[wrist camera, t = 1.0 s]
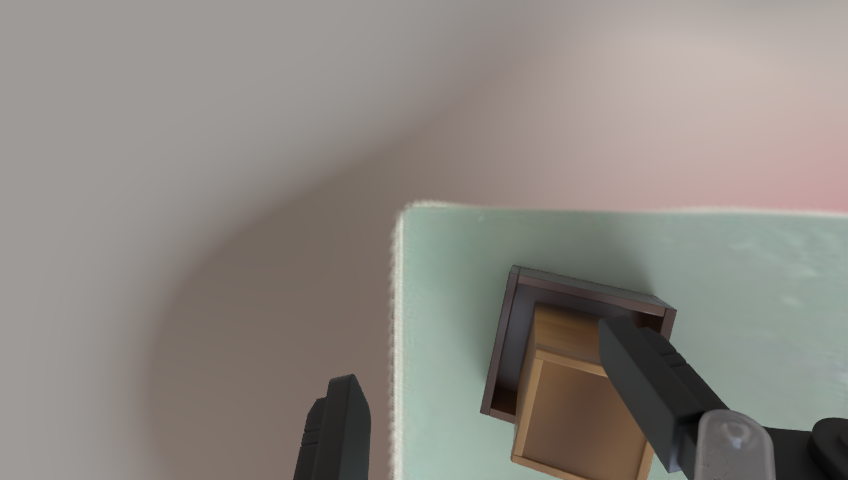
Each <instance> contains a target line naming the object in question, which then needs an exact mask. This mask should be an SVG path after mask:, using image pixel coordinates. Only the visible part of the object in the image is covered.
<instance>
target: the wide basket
mask: <svg viewBox="0 0 848 480" xmlns="http://www.w3.org/2000/svg"><path fill="white" fill-rule="evenodd" d="M535 301H539V302H544V303H548V304H552V305H556V306H560V307H565V308H569V309H573V310H577V311H581V312H586V313H590V314H594V315H598V316H602V317H607V318H608V317H612V316H617V315H621V314H625V315H626V316H628V317H629V319H630V320H631V321H632V322H633V323H634V325H635V326H636V327H637V328H638V329H639V328H643V327H649V328H650V329H652V330H654V331H656V332H657V333H659V334H661V335H662V336H664V337H665V338H666V339H667V340H668V341H669V339H670V335H671V331H672V328H673V324H674V320H675V316H676V312H677V310H676V309H675V308H673V307H671V306H670V305H668V304H667V303H665V302H664V301H662V300H661V299H659V298H658V297H656V296H652V295H647V294H643V293H638V292H634V291H629V290H624V289H620V288H615V287H611V286H606V285H602V284H597V283H592V282H588V281H583V280H579V279H574V278H570V277H565V276H560V275H556V274H551V273H547V272H542V271H538V270H533V269H529V268H524V267H519V266H515V265H513V266H512V268H511V271H510V273H509V277H508V282H507V287H506V291H505V296H504V301H503V306H502V310H501V315H500V320H499V325H498V329H497V334H496V339H495V343H494V348H493V353H492V358H491V362H490V367H489V372H488V377H487V381H486V386H485V391H484V395H483V400H482V405H481V410H480V413H482V414H485V415H489V416H491V417H494V418H497V419H501V420H504V421H507V422H510V423H513V424H515V416H516V406H517V395H518V384H519V373H520V368H521V364H522V359H523V355H524V350H525V346H526V341H527V337H528V332H529V328H530V323H531V319H532V314H533V309H534V305H535Z"/></svg>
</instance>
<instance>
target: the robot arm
mask: <svg viewBox="0 0 848 480" xmlns="http://www.w3.org/2000/svg"><path fill="white" fill-rule="evenodd" d="M598 328H599V356H600V361H601V364H602V366H603V369H604V371H605V373H606V375H607V376H608V378H609V379H610V381H611V383H612V384H613V386H614V387H615V389H616V391H617V392H618V394H619V395H620V397H621V399H622V400H623V402H624V403H625V405H626V407H627V408H628V410H629V411H630V413H631V415H632V416H633V418H634V419H635V421H636V423H637V424H638V426H639V427H640V429H641V431H642V432H643V434H644V435H645V437H646V439H647V440H648V442H649V443H650V445H651V447H652V448H653V450H654V451H655V453H656V455H657V456H658V458H659V459H660V461H661V463H662V464H663V466H664V467H665V469H666V471H667V472H668V473H672V472H676V471H681V470H682V471H683V473H684V474H685V476H686V477H687V479H688V480H848V419H843V418H826V419H822V420H820V421H818V422H817V423H816V424H815V425H814V427H813V429H812V432H811V431H799V430H787V429H776V428H768V427H764V426H761V425H760V424H759V423H757V422H756V421H755V420H753V419H752V418H750V417H748V416H746V415H744V414H742V413H739V412H736V411H732V410H730V409H729V408H728V407H727V406H726V405H725V404H724V403H723V402H722V401H721V399H720V398H719V397H718V396H717V395H716V394H715V393H714V392H713V391H712V389H711V388H710V387H709V386H708V385H707V384H706V383H705V382H704V380H703V379H702V378H701V377H700V376H699V375H698V374H697V373H696V372H695V370H694V369H693V368H692V367H691V366H690V365H689V364H687V363H686V360H685V359H684V358H683V357H682V356H681V355H680V354H679V353H677V351H676V349H675V348H674V347H673V346H672V345H671V344H670V342H669V341H668V340H667V339H666V338H665V337H664V336H662V335H661V334H659V333H657V332H656V331H654V330H652V329H650V328H649V327H643V328H639V329H638V328H637V327H636V326H635V325H634V323H633V322H632V321H631V320H630V319H629V317H628V316H626V315H625V314H621V315H617V316H612V317H608V318H603V319H600V320H599V323H598ZM304 431H305V433H304V434H303V438H302V442H301V444H302V447H300V451H299V456H298V460H297V465H296V469H295V474H294V479H293V480H368V468H369V450H370V433H371V415H370V410H369V406H368V403H367V401H366V399H365V396H364V394H363V392H362V389H361V387H360V385H359V383H358V380H357V378H356V376H355V375H354V374H351V375H346V376H341V377H337V378H333V379H331V380H330V382H329V385H328V391H327V396H326V397H325V398H320V399H317V400H316V402H315V403H314V405H313V407H312V408H311V410H310V412H309V413H308V416H307V420H306V425H305V429H304Z"/></svg>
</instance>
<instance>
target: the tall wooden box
mask: <svg viewBox="0 0 848 480" xmlns="http://www.w3.org/2000/svg"><path fill="white" fill-rule="evenodd" d="M603 318H607V317H602V316H598V315H594V314H590V313H586V312H581V311H577V310H573V309H569V308H565V307H560V306H556V305H552V304H548V303H544V302H539V301H535V305H534V309H533V314H532V319H531V323H530V328H529V332H528V337H527V341H526V346H525V350H524V355H523V359H522V364H521V368H520V373H519V384H518V395H517V406H516V416H515V427H514V438H513V445H512V450H511V461H512V462H514V463H517V464H519V465H522V466H525V467H528V468H531V469H534V470H537V471H540V472H543V473H545V474H548V475H551V476H554V477H557V478H560V479H563V480H647V478H648V474H649V471H650V467H651V463H652V459H653V456H654V452H655V451H654V450H653V448H652V447H651V445H650V443H649V442H648V440H647V439H646V437H645V435H644V434H643V432H642V431H641V429H640V427H639V426H638V424H637V423H636V421H635V419H634V418H633V416H632V415H631V413H630V411H629V410H628V408H627V407H626V405H625V403H624V402H623V400H622V399H621V397H620V395H619V394H618V392H617V391H616V389H615V387H614V386H613V384H612V383H611V381H610V379H609V378H608V376H607V375H606V373H605V371H604V369H603V366H602V364H601V361H600V356H599V328H598V323H599V320H600V319H603Z"/></svg>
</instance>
